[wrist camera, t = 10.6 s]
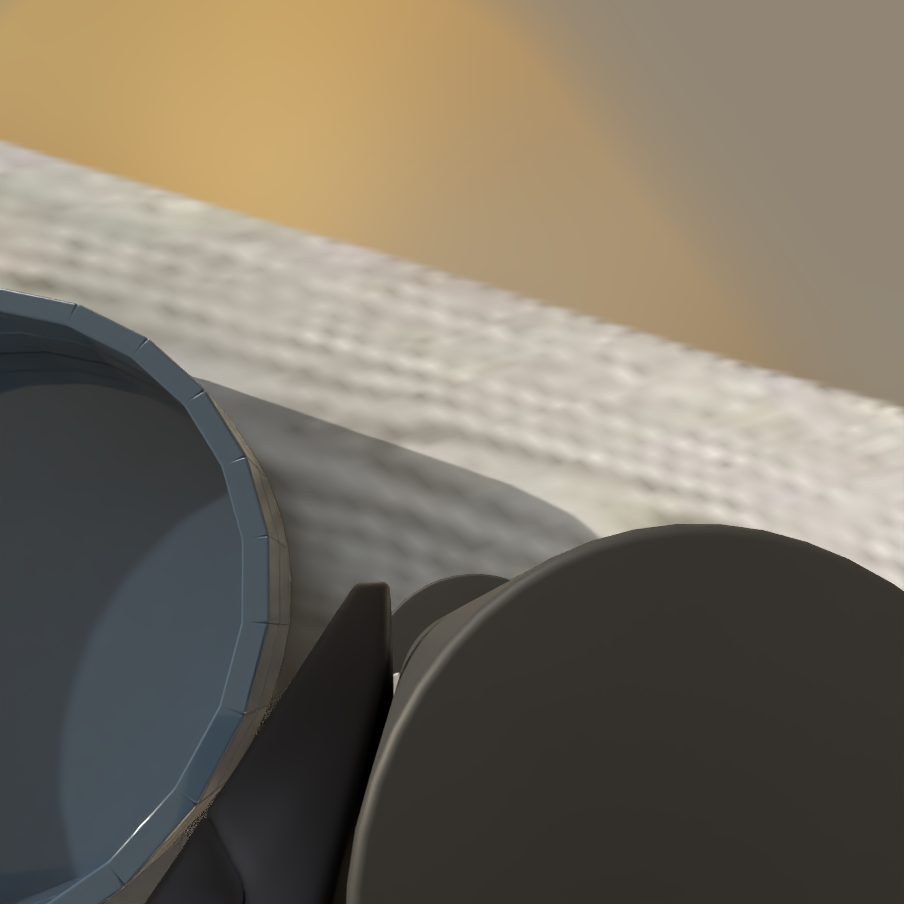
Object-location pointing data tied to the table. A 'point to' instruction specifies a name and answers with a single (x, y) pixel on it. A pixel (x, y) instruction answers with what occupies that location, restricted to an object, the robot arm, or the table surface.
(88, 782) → the bowl
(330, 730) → the robot arm
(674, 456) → the table surface
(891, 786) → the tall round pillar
